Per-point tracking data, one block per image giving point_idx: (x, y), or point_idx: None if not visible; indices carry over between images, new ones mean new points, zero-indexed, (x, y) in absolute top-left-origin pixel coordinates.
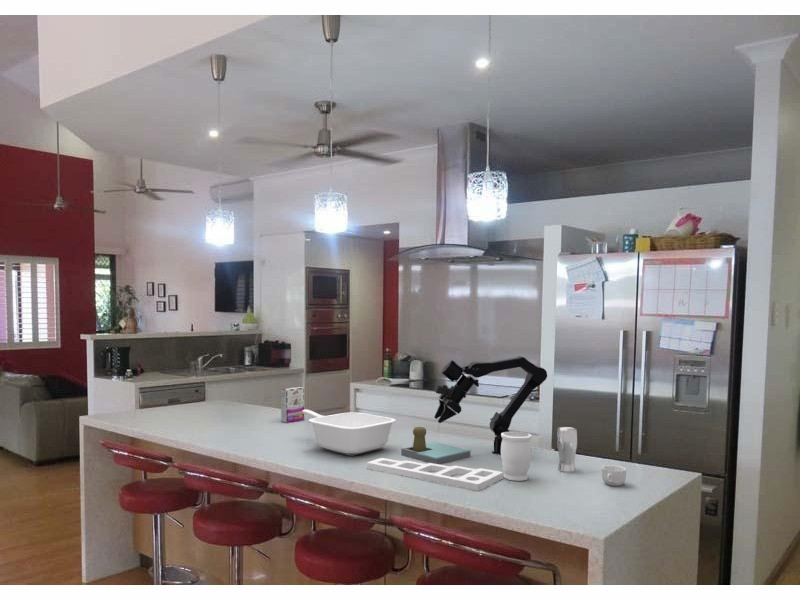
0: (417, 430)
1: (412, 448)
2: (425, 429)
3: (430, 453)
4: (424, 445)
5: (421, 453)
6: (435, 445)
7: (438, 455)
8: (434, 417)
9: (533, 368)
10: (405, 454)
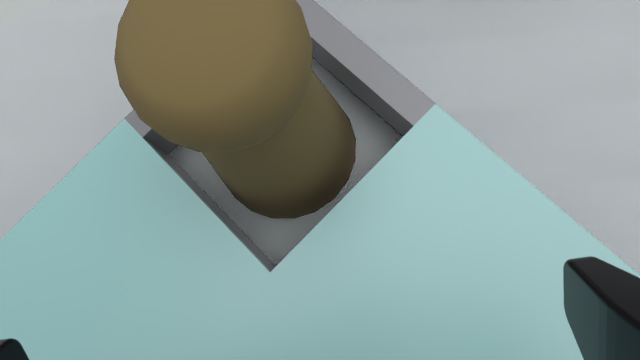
0: (123, 16)
1: (341, 67)
2: (177, 125)
3: (97, 244)
4: (219, 171)
5: (97, 159)
6: (458, 300)
7: (20, 322)
8: (568, 262)
9: None
10: None
